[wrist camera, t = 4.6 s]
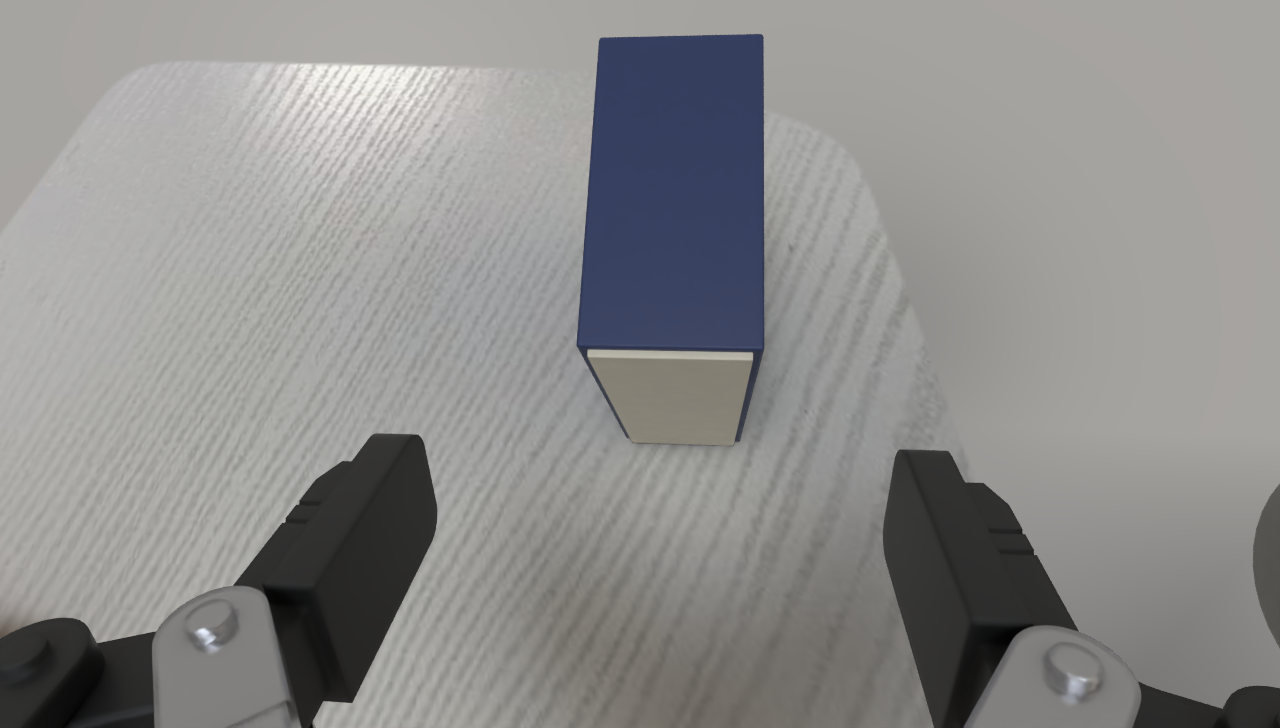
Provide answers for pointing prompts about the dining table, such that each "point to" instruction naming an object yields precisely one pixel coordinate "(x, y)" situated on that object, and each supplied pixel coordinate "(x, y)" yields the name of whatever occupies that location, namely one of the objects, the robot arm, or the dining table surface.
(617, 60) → the navy rectangular block
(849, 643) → the dining table surface
